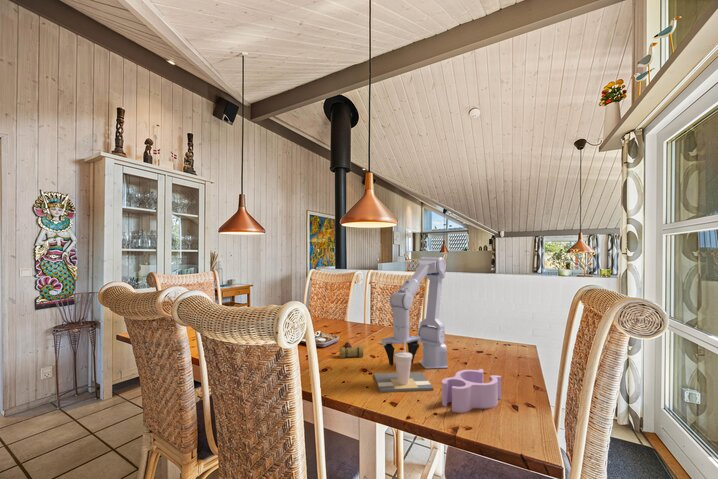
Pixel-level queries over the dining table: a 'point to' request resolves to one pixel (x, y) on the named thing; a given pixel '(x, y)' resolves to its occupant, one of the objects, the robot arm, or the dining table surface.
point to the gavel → (351, 351)
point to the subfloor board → (390, 384)
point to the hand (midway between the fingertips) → (401, 363)
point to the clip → (470, 391)
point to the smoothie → (403, 366)
